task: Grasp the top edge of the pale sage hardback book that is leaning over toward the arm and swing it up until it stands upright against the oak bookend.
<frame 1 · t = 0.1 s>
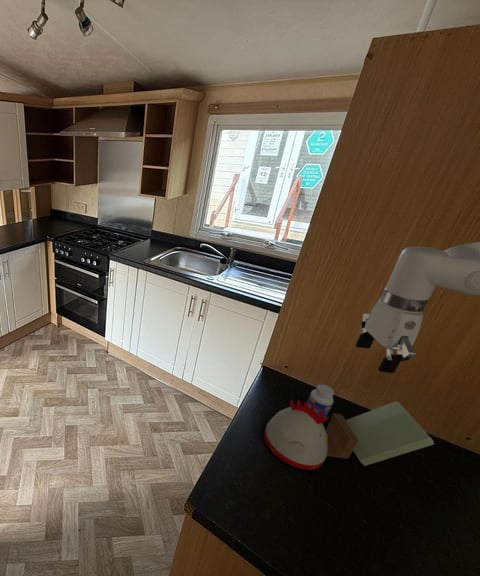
hand: (373, 358, 79), 22 cm above the worktop, tool pointing down, fingers open, 9 cm apart
pill bottle: (314, 414, 92), on the worktop
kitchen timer: (292, 444, 83), on the worktop
book: (381, 432, 78), point 6 cm above the worktop, hinge at 45.0°
bookend: (335, 444, 83), on the worktop
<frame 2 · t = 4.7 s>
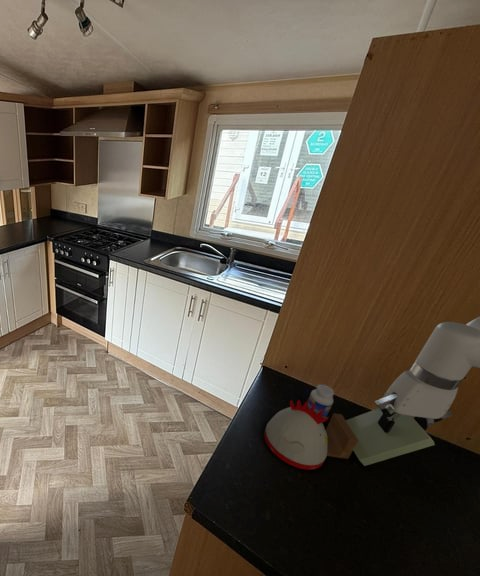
hand: (398, 429, 77), 8 cm above the worktop, tool pointing down, fingers closed on book, 6 cm apart
book: (381, 433, 78), point 6 cm above the worktop, hinge at 44.1°, touching gripper
everything else where it was.
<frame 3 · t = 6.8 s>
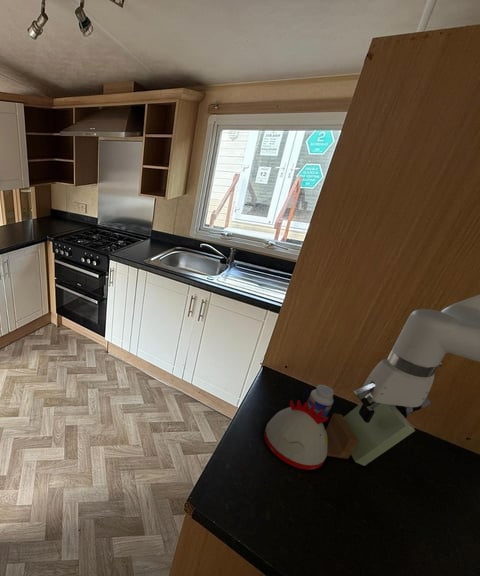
hand: (379, 419, 77), 11 cm above the worktop, tool pointing down, fingers open, 6 cm apart
book: (370, 427, 78), point 8 cm above the worktop, hinge at 68.5°, touching gripper
everything else where it was.
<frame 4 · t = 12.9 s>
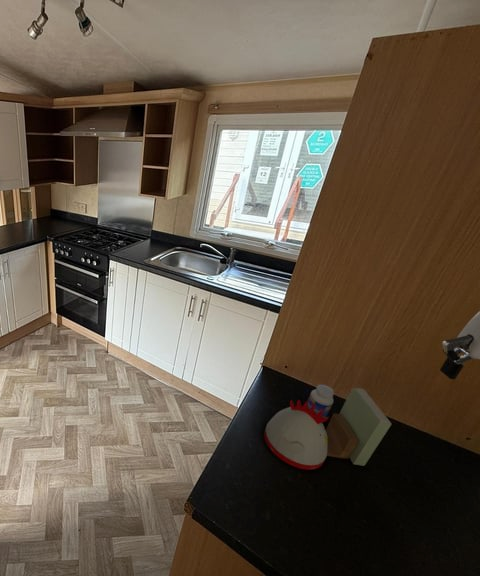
hand: (472, 377, 68), 26 cm above the worktop, tool pointing down, fingers open, 9 cm apart
book: (358, 425, 79), point 8 cm above the worktop, hinge at 88.4°
everything else where it was.
at the end: book at +88° (first picture: +45°); pill bottle moved 0.2 cm from its start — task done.
